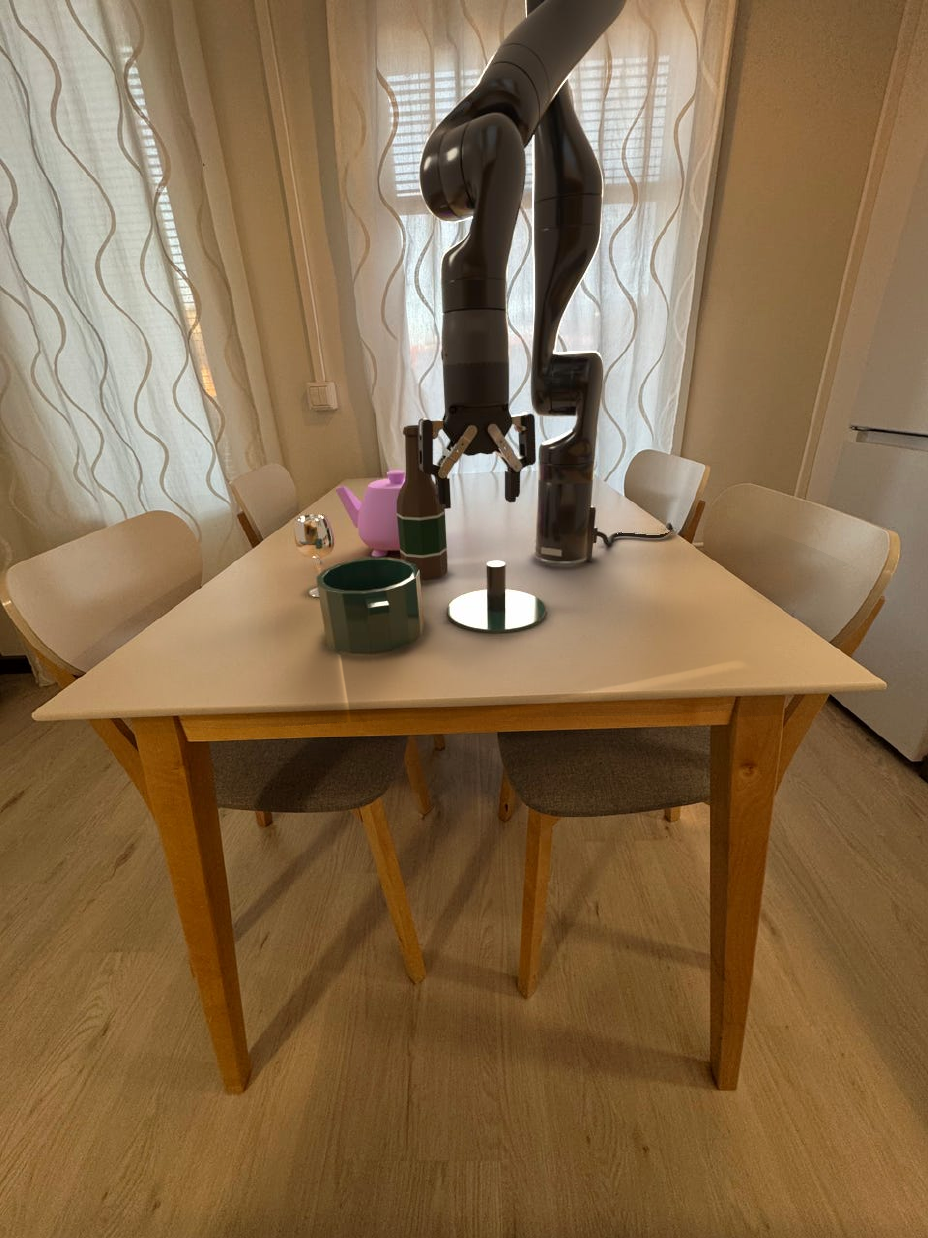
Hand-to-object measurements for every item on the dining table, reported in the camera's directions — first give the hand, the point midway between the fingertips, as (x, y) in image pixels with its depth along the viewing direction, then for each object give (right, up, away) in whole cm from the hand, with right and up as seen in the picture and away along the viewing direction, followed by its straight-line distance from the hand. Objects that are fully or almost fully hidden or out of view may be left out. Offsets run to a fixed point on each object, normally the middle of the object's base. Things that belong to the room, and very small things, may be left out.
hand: (478, 504), depth 63 cm
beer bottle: (-8, -7, +22) cm, 25 cm away
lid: (+3, -13, +7) cm, 15 cm away
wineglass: (-24, -10, +17) cm, 32 cm away
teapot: (-16, 0, +38) cm, 41 cm away
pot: (-14, -16, +3) cm, 22 cm away
